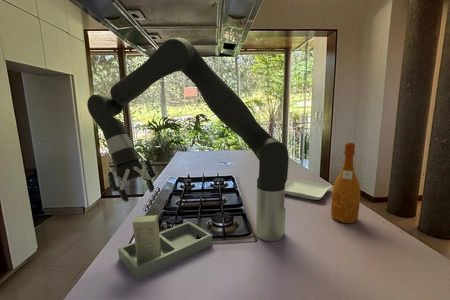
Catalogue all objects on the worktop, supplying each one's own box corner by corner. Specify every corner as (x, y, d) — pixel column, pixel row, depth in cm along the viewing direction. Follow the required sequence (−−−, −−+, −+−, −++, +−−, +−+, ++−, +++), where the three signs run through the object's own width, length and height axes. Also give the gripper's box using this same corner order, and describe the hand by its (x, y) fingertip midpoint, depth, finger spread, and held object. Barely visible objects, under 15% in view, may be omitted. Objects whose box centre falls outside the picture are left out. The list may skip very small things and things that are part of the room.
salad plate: (292, 183, 145) (292, 177, 145) (332, 191, 133) (332, 184, 133) (276, 195, 128) (276, 188, 128) (320, 204, 116) (321, 197, 116)
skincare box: (161, 252, 79) (159, 214, 77) (158, 261, 75) (155, 221, 72) (139, 253, 79) (137, 215, 76) (135, 261, 74) (132, 221, 72)
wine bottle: (324, 215, 105) (329, 141, 99) (343, 211, 108) (349, 140, 103) (344, 226, 96) (351, 145, 90) (363, 221, 99) (371, 143, 94)
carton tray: (189, 230, 94) (189, 221, 93) (212, 244, 84) (212, 234, 84) (119, 258, 77) (118, 248, 77) (138, 280, 68) (137, 268, 67)
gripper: (101, 153, 79) (121, 203, 78) (145, 141, 88) (163, 186, 86) (97, 160, 85) (115, 206, 83) (139, 148, 94) (155, 190, 92)
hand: (140, 196), depth 85 cm, fingers open, 8 cm apart
